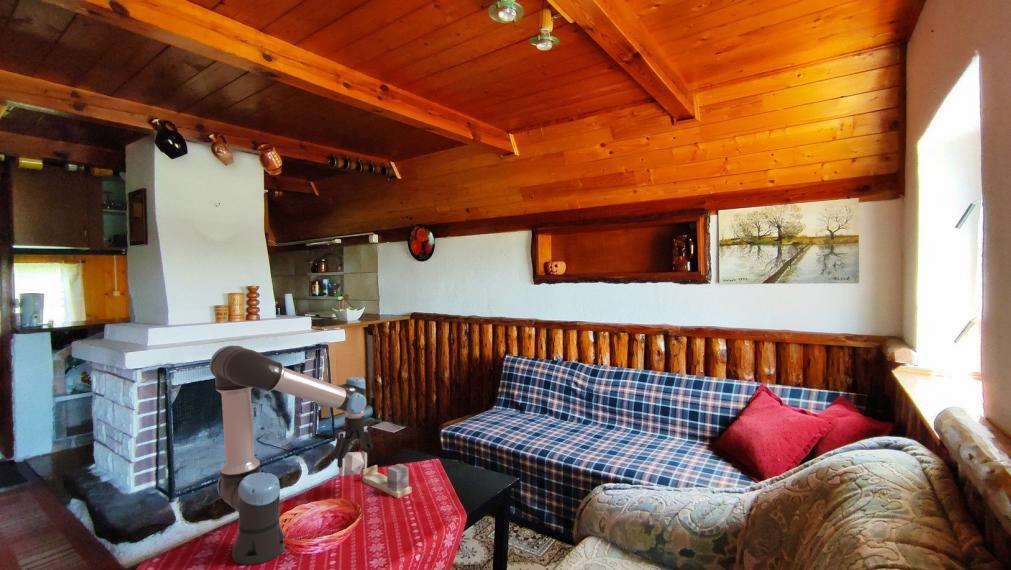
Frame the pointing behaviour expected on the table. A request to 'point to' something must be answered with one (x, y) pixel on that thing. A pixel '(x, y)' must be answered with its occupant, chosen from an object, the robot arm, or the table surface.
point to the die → (353, 463)
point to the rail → (389, 480)
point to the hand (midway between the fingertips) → (352, 471)
